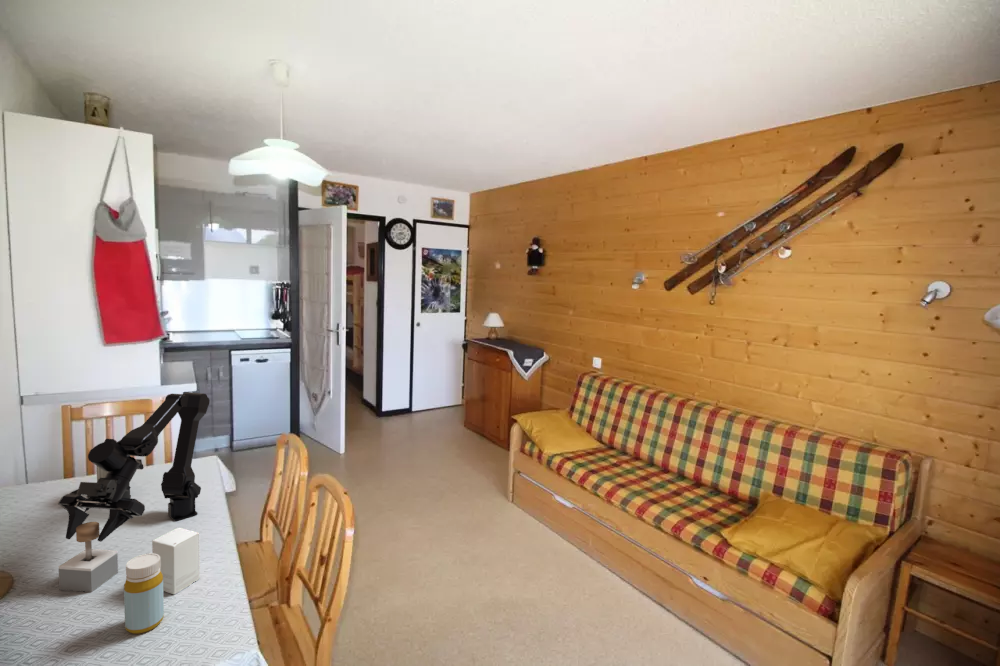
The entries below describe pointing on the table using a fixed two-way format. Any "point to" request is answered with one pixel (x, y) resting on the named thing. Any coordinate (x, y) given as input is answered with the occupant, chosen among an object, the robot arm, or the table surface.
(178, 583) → the supplement box
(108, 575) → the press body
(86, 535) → the plunger
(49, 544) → the table surface
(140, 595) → the bottle
